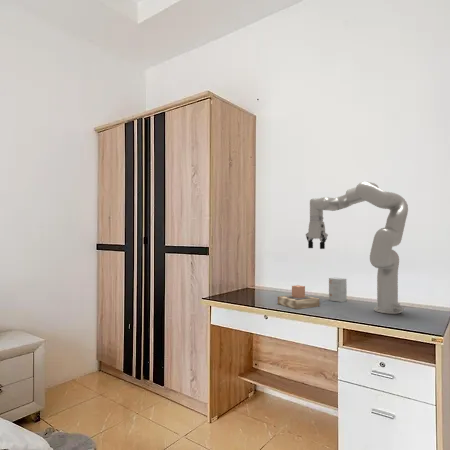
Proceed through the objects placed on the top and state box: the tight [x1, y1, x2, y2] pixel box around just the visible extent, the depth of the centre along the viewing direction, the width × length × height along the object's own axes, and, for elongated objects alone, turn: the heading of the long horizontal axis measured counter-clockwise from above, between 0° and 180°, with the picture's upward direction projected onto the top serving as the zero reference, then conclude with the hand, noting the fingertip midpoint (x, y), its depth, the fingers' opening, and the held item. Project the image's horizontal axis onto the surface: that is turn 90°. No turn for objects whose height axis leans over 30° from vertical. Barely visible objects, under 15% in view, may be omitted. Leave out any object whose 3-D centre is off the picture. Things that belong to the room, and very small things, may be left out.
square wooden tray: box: [277, 294, 321, 310], centre depth 198 cm, size 16×16×4 cm
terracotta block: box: [291, 284, 306, 298], centre depth 198 cm, size 5×5×6 cm
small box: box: [328, 277, 348, 303], centre depth 212 cm, size 8×6×13 cm
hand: (316, 248), depth 213 cm, fingers open, 9 cm apart
